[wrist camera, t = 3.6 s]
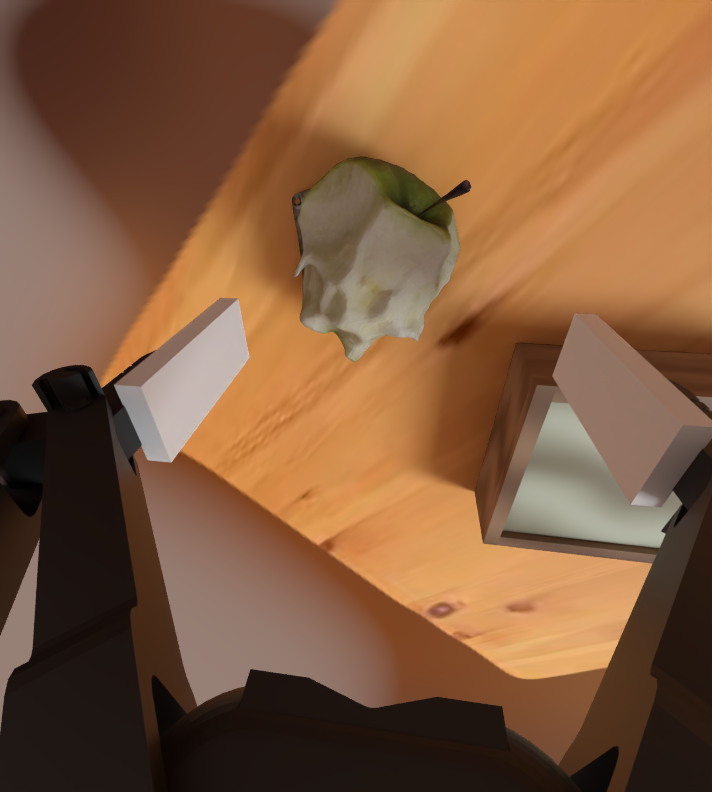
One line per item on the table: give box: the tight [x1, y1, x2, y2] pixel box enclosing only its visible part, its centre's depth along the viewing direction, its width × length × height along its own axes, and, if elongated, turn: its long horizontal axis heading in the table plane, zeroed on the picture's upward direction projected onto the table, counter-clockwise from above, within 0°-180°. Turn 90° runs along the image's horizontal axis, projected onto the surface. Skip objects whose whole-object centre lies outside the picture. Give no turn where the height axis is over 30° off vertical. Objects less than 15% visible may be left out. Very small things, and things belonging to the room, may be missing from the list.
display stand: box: [475, 343, 712, 563], centre depth 24 cm, size 14×14×5 cm
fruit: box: [292, 157, 471, 362], centre depth 18 cm, size 9×9×8 cm
